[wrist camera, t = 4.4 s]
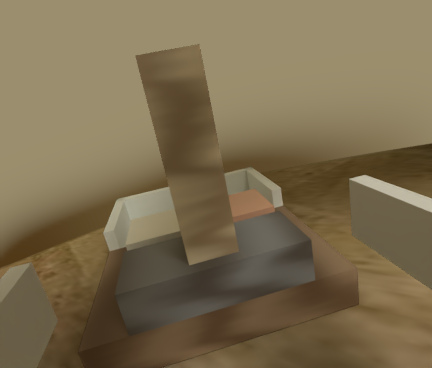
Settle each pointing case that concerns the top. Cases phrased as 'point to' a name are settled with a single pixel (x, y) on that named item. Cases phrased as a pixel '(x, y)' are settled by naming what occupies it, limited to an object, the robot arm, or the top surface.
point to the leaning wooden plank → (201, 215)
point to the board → (215, 314)
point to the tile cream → (152, 229)
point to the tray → (163, 202)
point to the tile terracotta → (249, 205)
